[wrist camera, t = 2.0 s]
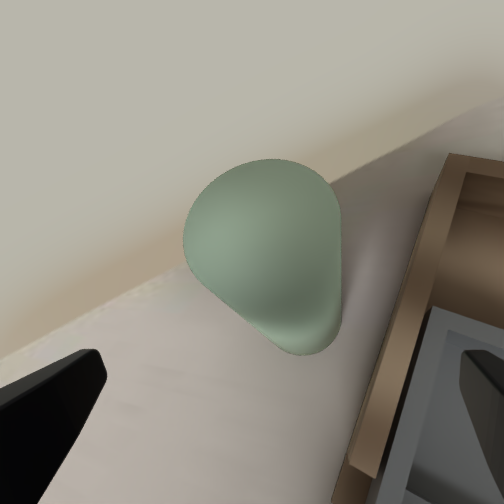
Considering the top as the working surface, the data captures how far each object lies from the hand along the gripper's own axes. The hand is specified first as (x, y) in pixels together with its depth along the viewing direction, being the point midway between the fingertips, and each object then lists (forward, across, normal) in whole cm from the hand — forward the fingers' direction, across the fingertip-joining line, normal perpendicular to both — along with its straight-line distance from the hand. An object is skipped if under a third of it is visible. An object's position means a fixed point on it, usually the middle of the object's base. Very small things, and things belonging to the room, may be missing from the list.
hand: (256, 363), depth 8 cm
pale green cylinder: (+10, 0, +5) cm, 11 cm away
